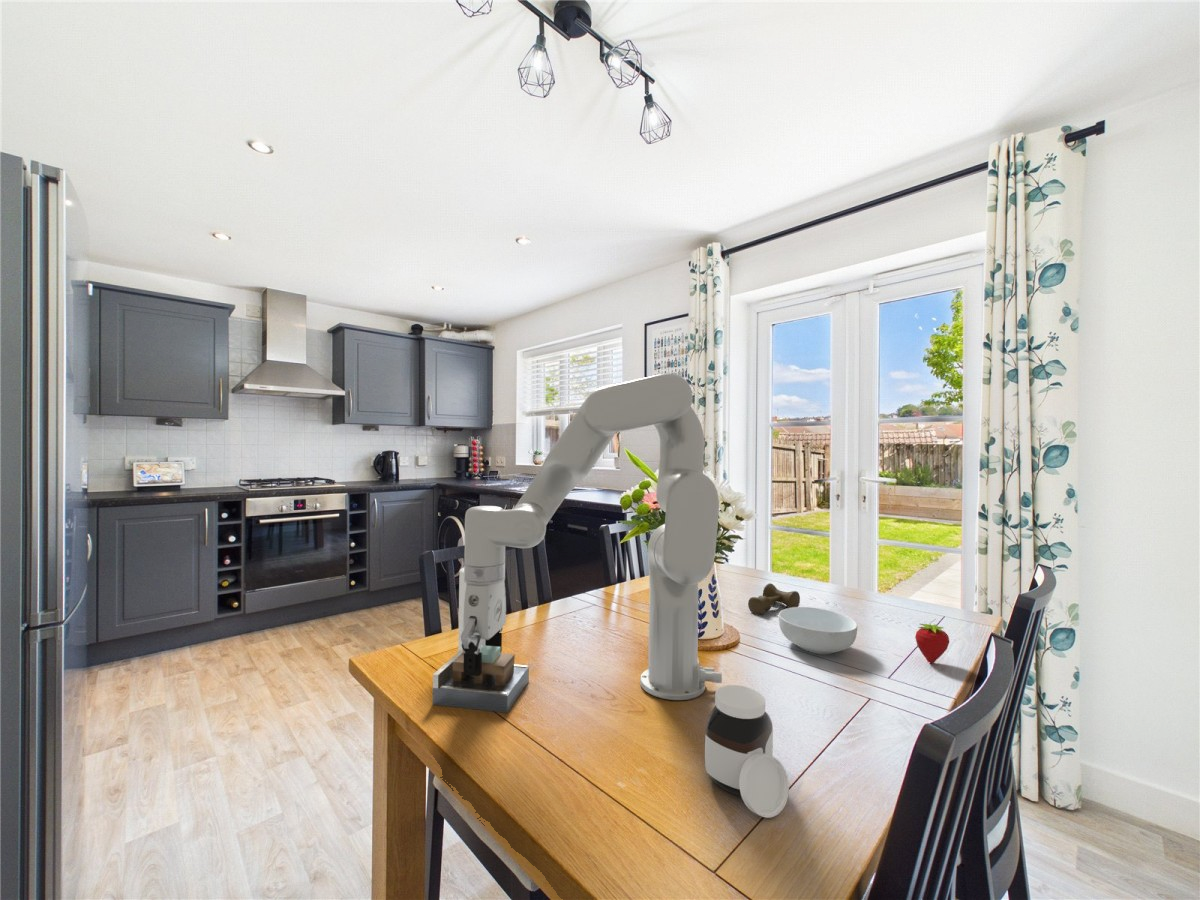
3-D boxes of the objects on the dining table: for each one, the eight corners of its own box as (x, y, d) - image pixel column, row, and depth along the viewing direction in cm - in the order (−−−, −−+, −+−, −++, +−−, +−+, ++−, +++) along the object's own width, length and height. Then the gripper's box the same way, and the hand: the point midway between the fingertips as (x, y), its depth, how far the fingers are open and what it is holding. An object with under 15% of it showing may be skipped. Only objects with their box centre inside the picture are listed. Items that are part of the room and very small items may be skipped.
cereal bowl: (778, 656, 112) (779, 624, 112) (777, 631, 128) (778, 603, 128) (862, 667, 107) (863, 634, 107) (851, 640, 123) (851, 611, 123)
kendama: (739, 612, 145) (778, 598, 157) (769, 622, 137) (807, 606, 149) (740, 591, 144) (778, 579, 157) (769, 600, 137) (807, 587, 149)
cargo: (500, 654, 95) (500, 646, 95) (492, 663, 91) (492, 655, 91) (475, 652, 96) (475, 644, 96) (466, 661, 92) (467, 653, 92)
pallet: (514, 672, 95) (514, 654, 95) (504, 685, 90) (504, 666, 90) (465, 667, 97) (465, 649, 97) (452, 680, 92) (452, 661, 92)
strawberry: (955, 664, 109) (956, 619, 109) (937, 672, 105) (938, 624, 105) (926, 654, 114) (927, 611, 114) (908, 661, 110) (909, 616, 110)
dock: (528, 681, 98) (529, 653, 98) (507, 712, 86) (507, 681, 86) (462, 674, 101) (462, 648, 101) (432, 704, 89) (432, 674, 89)
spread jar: (730, 751, 76) (731, 675, 76) (805, 785, 69) (806, 701, 69) (688, 791, 67) (690, 705, 67) (770, 835, 60) (772, 738, 60)
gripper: (485, 585, 84) (483, 686, 84) (519, 563, 101) (517, 647, 101) (444, 583, 86) (442, 682, 86) (484, 561, 103) (483, 644, 103)
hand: (483, 663), depth 94 cm, fingers open, 9 cm apart
